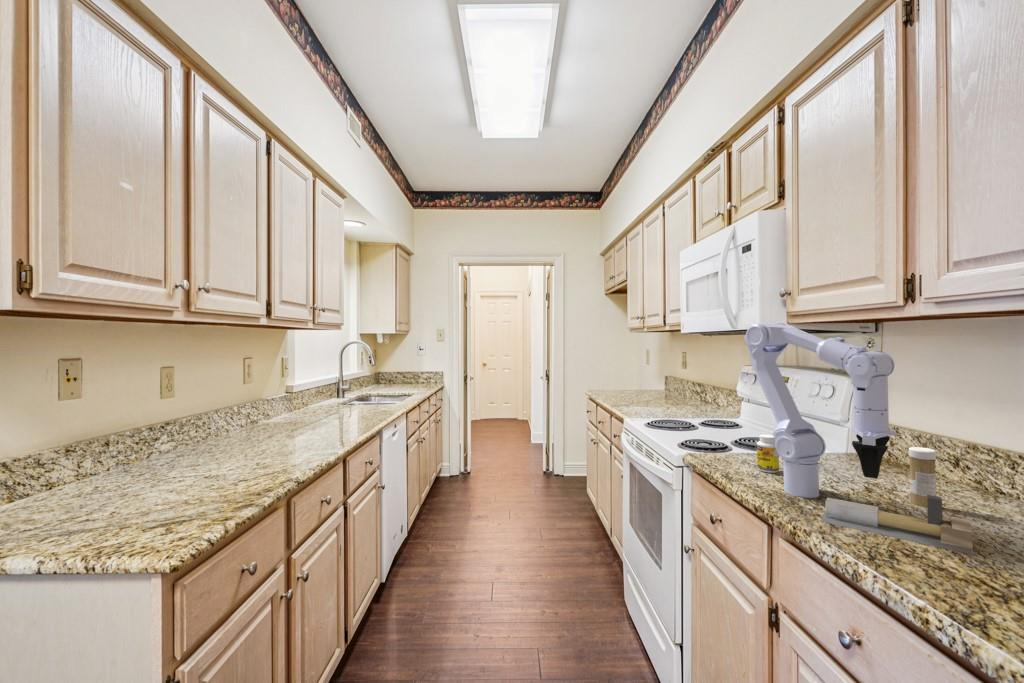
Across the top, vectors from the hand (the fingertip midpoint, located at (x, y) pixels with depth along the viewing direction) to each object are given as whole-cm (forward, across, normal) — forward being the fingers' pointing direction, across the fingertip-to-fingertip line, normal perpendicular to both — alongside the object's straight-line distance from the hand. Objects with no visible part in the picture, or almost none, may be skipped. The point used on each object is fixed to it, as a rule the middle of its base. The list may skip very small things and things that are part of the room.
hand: (871, 472), depth 92 cm
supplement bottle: (+11, +26, +25) cm, 38 cm away
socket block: (+9, -4, -12) cm, 16 cm away
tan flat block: (+9, -4, -6) cm, 12 cm away
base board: (+10, -4, -3) cm, 12 cm away
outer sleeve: (+9, -4, +3) cm, 11 cm away
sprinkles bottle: (+11, +16, -8) cm, 21 cm away
